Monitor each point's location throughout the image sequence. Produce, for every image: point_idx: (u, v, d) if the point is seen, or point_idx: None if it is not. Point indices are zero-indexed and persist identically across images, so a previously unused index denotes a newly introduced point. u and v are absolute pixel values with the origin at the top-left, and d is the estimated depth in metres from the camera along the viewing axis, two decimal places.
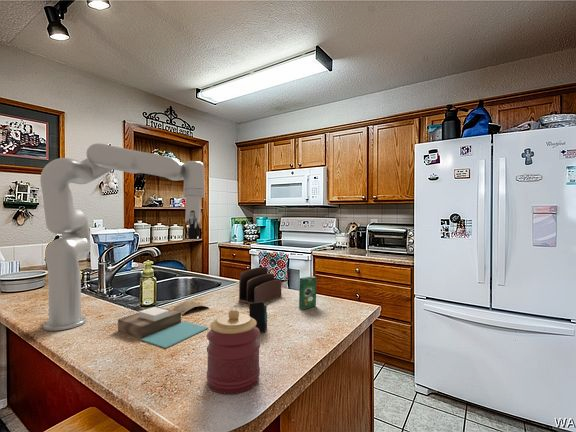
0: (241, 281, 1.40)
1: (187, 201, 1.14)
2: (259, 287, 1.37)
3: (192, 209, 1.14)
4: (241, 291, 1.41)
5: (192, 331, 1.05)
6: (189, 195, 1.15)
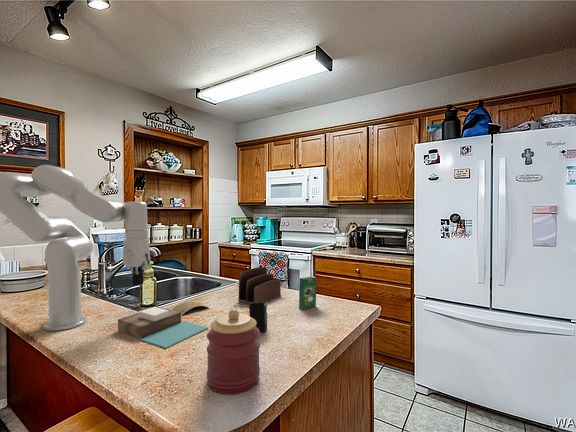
0: (240, 281, 1.40)
1: (139, 244, 1.09)
2: (259, 287, 1.37)
3: (145, 252, 1.10)
4: (240, 291, 1.41)
5: (192, 331, 1.05)
6: (139, 238, 1.10)
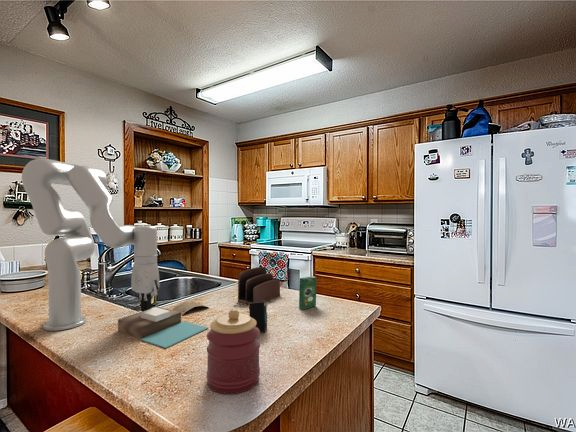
0: (240, 281, 1.41)
1: (149, 270, 1.07)
2: (258, 287, 1.38)
3: (154, 278, 1.08)
4: (240, 291, 1.41)
5: (192, 331, 1.05)
6: (149, 264, 1.08)
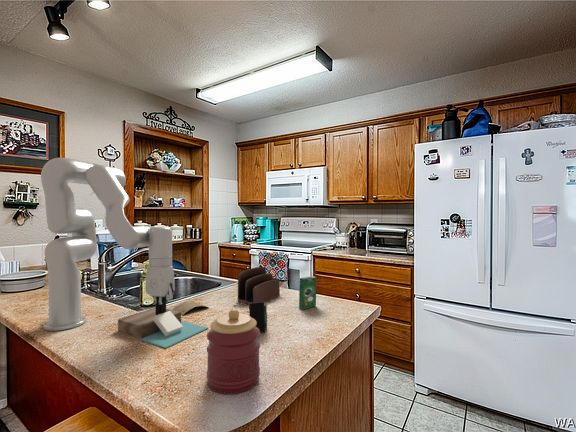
0: (240, 281, 1.41)
1: (164, 273, 1.03)
2: (258, 287, 1.38)
3: (170, 281, 1.04)
4: (240, 291, 1.41)
5: (192, 331, 1.05)
6: (164, 266, 1.04)
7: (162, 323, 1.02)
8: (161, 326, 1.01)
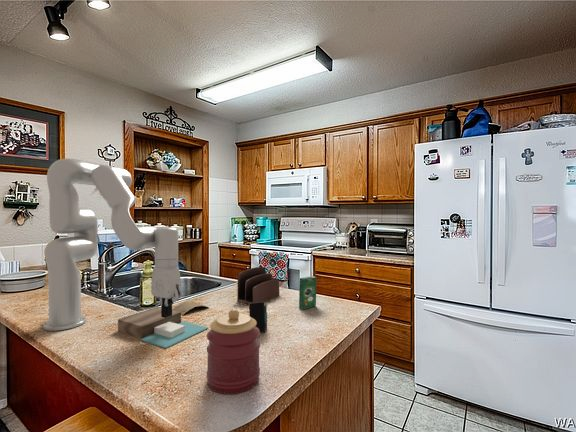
0: (239, 281, 1.41)
1: (170, 274, 1.01)
2: (257, 287, 1.38)
3: (176, 283, 1.03)
4: (239, 291, 1.41)
5: (192, 331, 1.05)
6: (170, 267, 1.02)
7: (163, 329, 1.02)
8: (163, 331, 1.01)
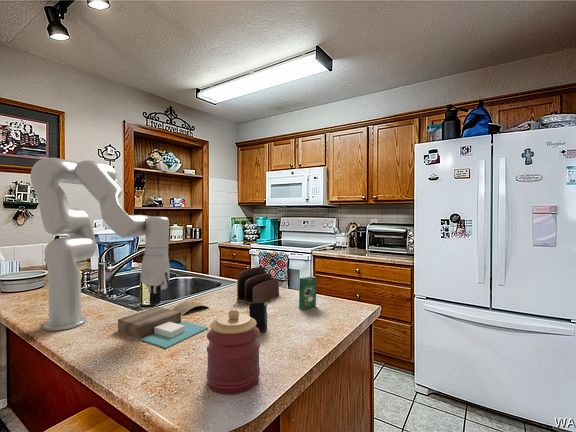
0: (239, 281, 1.41)
1: (159, 262, 1.03)
2: (257, 287, 1.38)
3: (165, 271, 1.05)
4: (239, 291, 1.41)
5: (192, 331, 1.05)
6: (160, 255, 1.05)
7: (163, 329, 1.02)
8: (163, 331, 1.01)
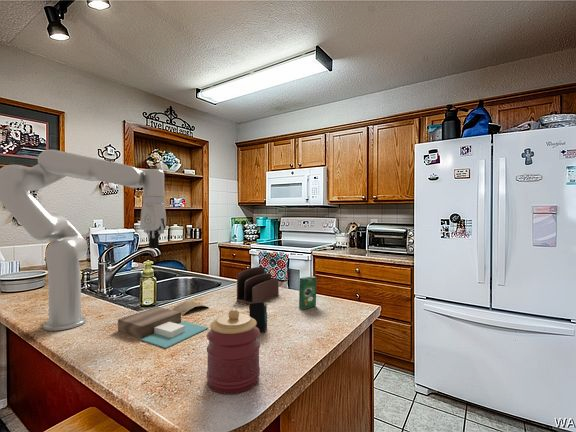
0: (239, 281, 1.41)
1: (156, 209, 1.15)
2: (257, 287, 1.38)
3: (162, 217, 1.17)
4: (239, 291, 1.41)
5: (192, 331, 1.05)
6: (156, 203, 1.17)
7: (163, 329, 1.02)
8: (163, 331, 1.01)
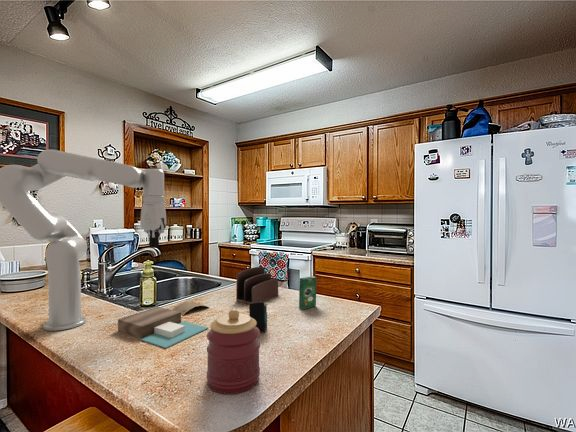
0: (238, 281, 1.41)
1: (157, 208, 1.16)
2: (256, 287, 1.38)
3: (162, 217, 1.17)
4: (238, 291, 1.41)
5: (192, 331, 1.05)
6: (157, 203, 1.17)
7: (163, 329, 1.02)
8: (163, 331, 1.01)
